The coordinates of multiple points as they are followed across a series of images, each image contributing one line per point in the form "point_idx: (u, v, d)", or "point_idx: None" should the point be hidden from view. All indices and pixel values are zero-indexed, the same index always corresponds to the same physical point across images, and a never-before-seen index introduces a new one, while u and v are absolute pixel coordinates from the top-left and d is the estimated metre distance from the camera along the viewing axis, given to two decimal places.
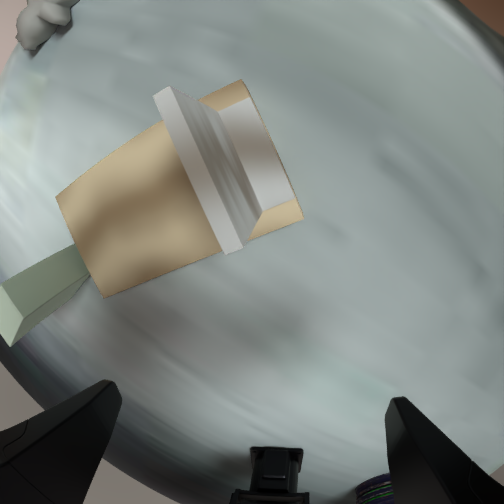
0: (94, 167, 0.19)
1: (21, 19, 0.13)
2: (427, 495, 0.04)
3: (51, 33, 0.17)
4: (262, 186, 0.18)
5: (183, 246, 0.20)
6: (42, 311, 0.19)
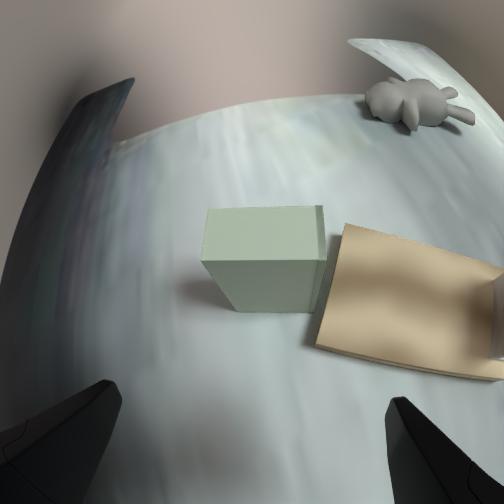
0: (405, 240, 0.21)
1: (386, 87, 0.28)
2: (427, 495, 0.04)
3: (390, 121, 0.30)
4: None
5: (438, 352, 0.17)
6: (277, 284, 0.17)
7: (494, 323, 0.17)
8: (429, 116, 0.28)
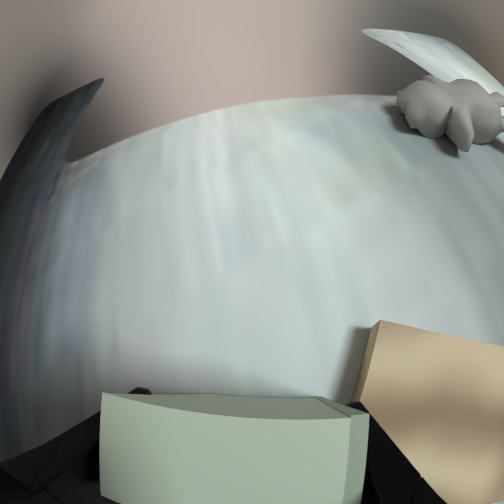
0: (464, 341, 0.12)
1: (427, 88, 0.19)
2: None
3: (432, 136, 0.21)
4: None
5: (477, 488, 0.07)
6: None
7: None
8: (480, 131, 0.19)
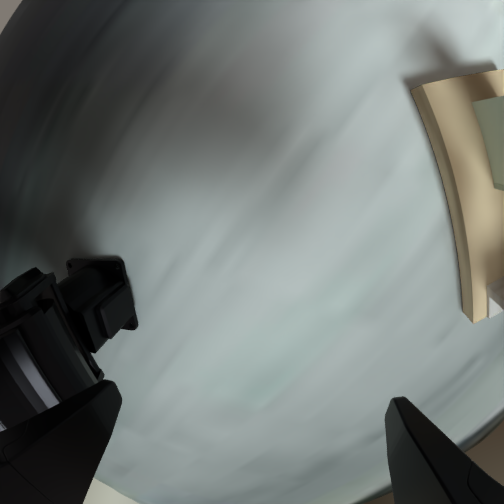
0: None
1: None
2: (427, 495, 0.04)
3: None
4: None
5: (478, 220, 0.15)
6: None
7: None
8: None
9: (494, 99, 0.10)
